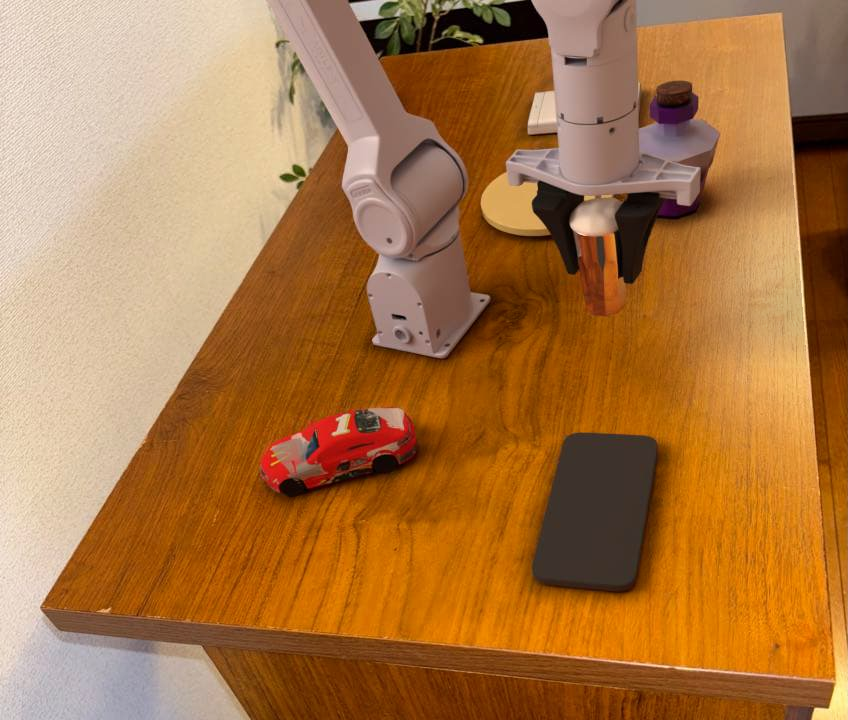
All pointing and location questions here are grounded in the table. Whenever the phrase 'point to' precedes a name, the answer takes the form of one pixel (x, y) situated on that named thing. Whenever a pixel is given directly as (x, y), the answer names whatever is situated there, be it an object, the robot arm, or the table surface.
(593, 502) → the phone
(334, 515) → the table surface
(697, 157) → the potion bottle
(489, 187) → the plate
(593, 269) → the milkshake
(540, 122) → the hard drive
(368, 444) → the race car
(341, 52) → the robot arm
